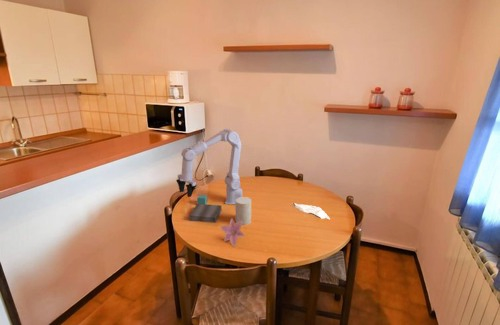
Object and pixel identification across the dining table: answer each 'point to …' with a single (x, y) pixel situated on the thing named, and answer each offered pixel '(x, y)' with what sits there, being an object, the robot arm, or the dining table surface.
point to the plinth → (205, 213)
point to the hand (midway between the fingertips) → (185, 194)
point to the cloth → (312, 210)
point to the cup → (243, 210)
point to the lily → (233, 231)
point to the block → (202, 199)
